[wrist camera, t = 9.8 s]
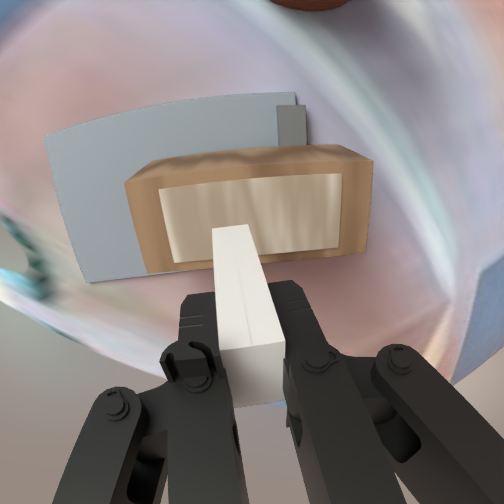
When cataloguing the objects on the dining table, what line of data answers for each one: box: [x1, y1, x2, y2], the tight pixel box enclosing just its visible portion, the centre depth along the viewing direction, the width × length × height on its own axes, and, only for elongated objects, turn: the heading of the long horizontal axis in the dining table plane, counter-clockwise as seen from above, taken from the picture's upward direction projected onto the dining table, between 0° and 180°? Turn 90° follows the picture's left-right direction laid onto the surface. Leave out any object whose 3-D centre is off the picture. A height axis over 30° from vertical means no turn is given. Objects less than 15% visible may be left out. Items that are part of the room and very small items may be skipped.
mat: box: [44, 92, 307, 283], centre depth 21 cm, size 20×14×1 cm
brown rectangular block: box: [124, 145, 373, 274], centre depth 19 cm, size 6×6×14 cm
